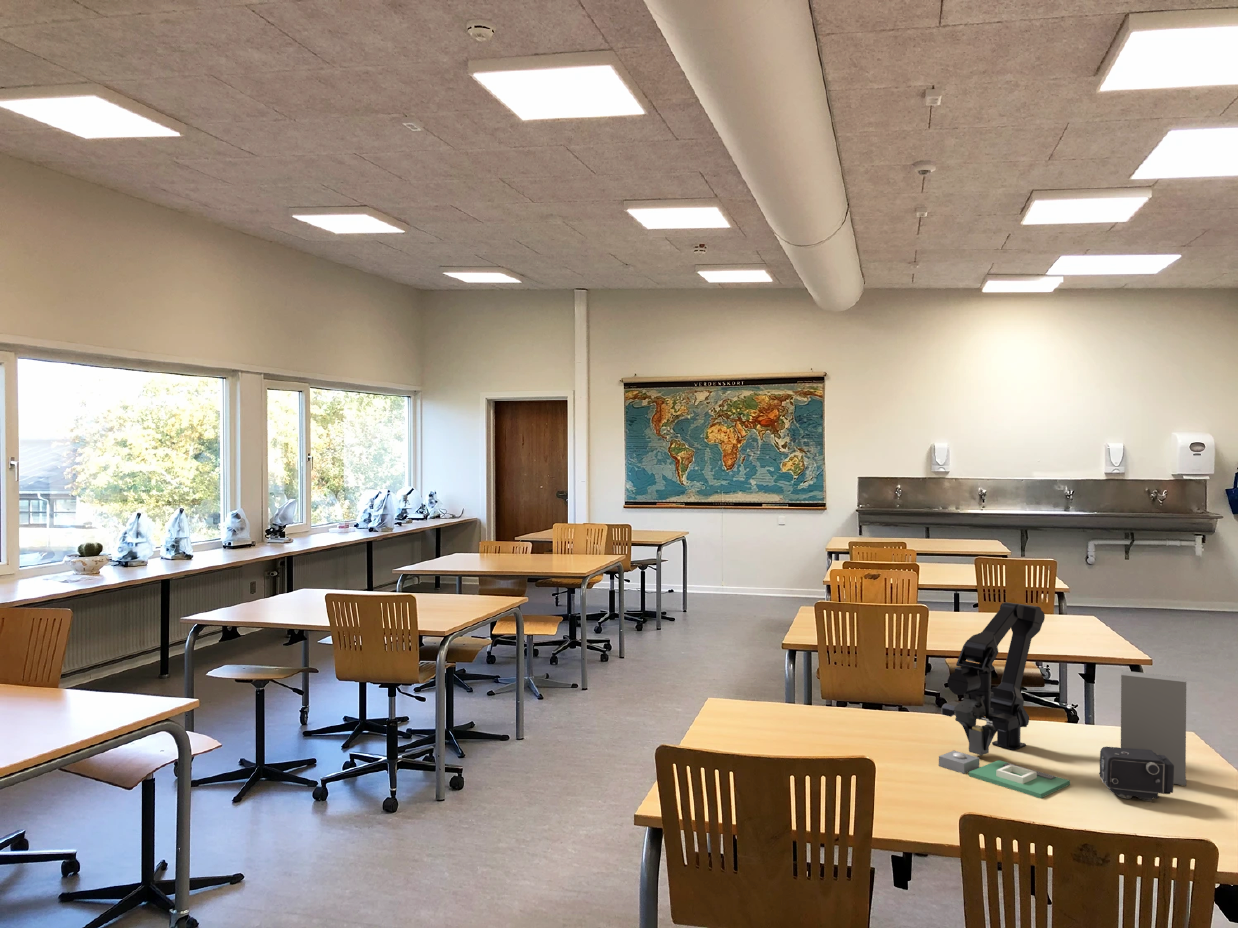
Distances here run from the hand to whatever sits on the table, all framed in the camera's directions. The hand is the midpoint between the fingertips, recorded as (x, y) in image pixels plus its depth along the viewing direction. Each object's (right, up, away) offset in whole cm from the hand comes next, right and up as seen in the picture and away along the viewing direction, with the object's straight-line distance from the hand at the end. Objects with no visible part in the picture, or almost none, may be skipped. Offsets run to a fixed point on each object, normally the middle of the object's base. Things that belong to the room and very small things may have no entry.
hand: (978, 748), depth 233 cm
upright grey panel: (+37, -3, -15) cm, 40 cm away
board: (+3, -2, -17) cm, 17 cm away
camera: (+25, -3, -27) cm, 37 cm away
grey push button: (-8, -2, -7) cm, 11 cm away
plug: (0, -1, 0) cm, 1 cm away
